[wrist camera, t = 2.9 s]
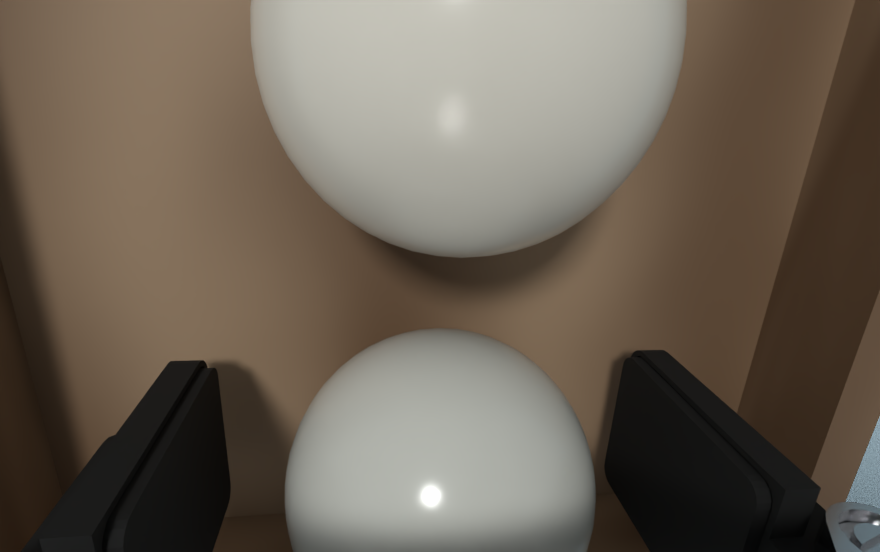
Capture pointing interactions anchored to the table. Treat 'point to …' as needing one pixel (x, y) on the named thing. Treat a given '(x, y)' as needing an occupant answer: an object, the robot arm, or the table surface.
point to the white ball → (440, 453)
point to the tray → (417, 274)
